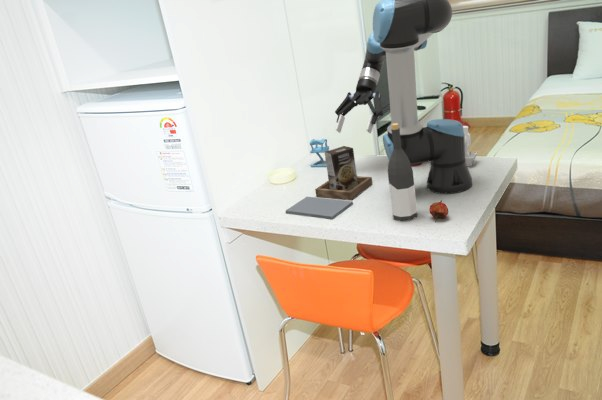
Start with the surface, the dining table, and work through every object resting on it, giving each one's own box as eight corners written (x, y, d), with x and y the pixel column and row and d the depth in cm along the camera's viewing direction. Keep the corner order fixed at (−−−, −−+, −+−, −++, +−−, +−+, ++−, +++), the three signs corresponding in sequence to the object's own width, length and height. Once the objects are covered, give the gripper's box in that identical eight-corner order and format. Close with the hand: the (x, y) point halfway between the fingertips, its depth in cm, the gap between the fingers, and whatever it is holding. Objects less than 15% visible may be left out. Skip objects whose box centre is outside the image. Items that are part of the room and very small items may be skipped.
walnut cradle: (372, 184, 193) (371, 177, 192) (351, 200, 182) (350, 192, 181) (338, 181, 202) (337, 174, 201) (316, 196, 191) (315, 189, 190)
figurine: (478, 160, 197) (476, 122, 192) (473, 168, 190) (470, 129, 185) (459, 160, 201) (457, 123, 196) (453, 168, 194) (450, 130, 189)
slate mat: (353, 204, 178) (352, 201, 178) (332, 219, 169) (332, 216, 169) (307, 199, 191) (306, 196, 190) (286, 213, 181) (285, 210, 181)
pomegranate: (447, 227, 153) (455, 205, 156) (438, 218, 150) (446, 196, 152) (430, 225, 158) (439, 204, 160) (422, 216, 154) (430, 195, 157)
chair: (333, 160, 229) (329, 134, 225) (326, 167, 222) (322, 140, 218) (317, 161, 233) (313, 135, 228) (310, 167, 226) (306, 141, 221)
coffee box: (338, 196, 188) (332, 154, 182) (329, 192, 193) (323, 151, 187) (359, 188, 191) (353, 147, 185) (350, 185, 196) (344, 144, 191)
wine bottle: (422, 216, 159) (413, 123, 148) (399, 223, 157) (388, 129, 147) (410, 208, 166) (401, 118, 156) (387, 215, 165) (376, 124, 154)
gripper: (400, 86, 194) (386, 136, 189) (345, 88, 209) (330, 135, 204) (392, 75, 188) (377, 126, 183) (336, 78, 203) (321, 126, 198)
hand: (352, 131), depth 194 cm, fingers open, 13 cm apart
